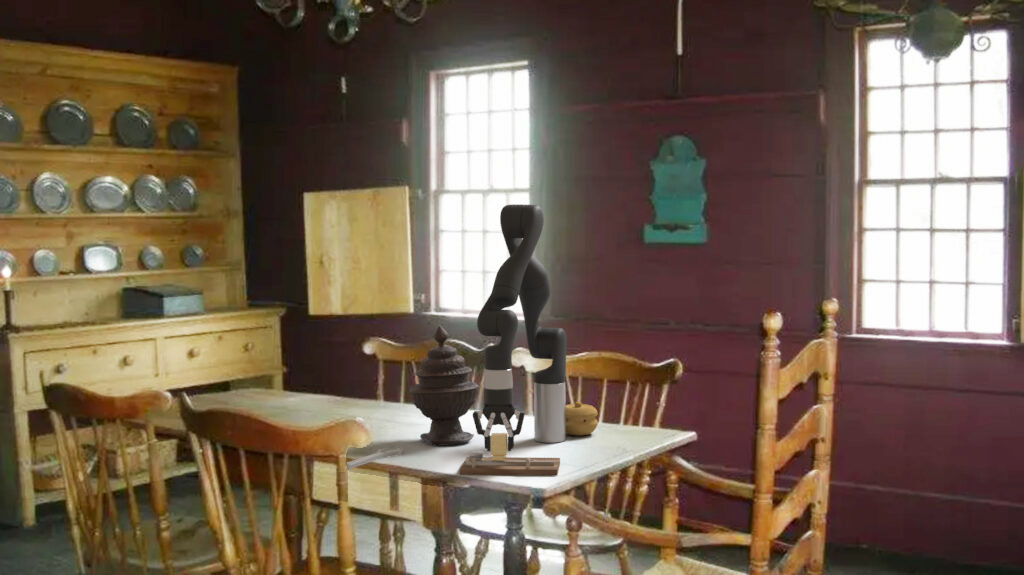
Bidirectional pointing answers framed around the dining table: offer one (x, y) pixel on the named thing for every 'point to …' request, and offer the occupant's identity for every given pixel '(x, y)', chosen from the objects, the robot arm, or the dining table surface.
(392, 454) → the adjustable wrench
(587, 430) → the pot
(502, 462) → the wooden slider board
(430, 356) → the decorative urn
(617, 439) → the dining table surface
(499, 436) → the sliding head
